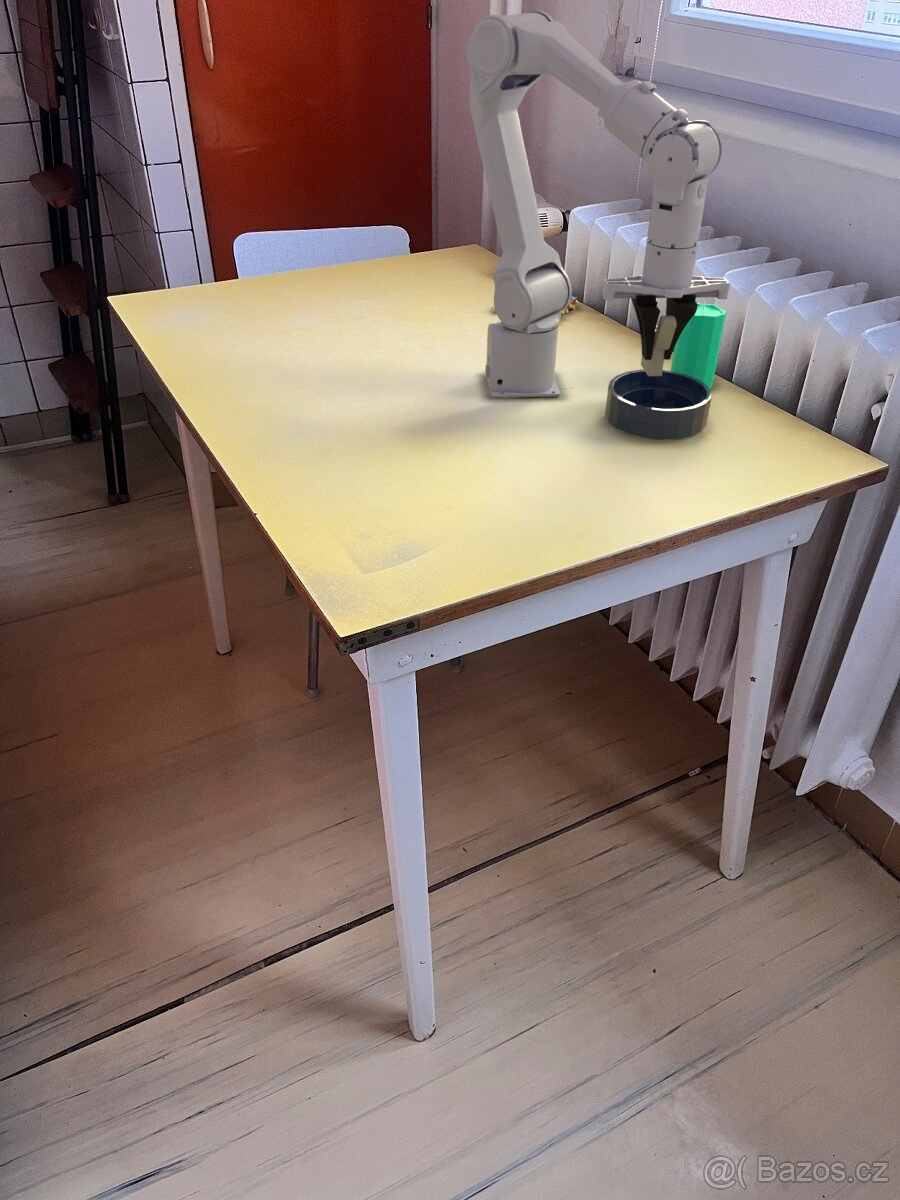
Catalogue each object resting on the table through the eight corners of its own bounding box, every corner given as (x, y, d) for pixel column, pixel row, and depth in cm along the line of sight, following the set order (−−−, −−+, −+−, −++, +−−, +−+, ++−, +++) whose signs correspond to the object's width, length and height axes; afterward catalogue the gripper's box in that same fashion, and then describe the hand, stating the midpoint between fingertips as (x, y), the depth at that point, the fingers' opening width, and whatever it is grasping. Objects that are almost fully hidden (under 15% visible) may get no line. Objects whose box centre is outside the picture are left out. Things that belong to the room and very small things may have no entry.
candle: (713, 393, 128) (729, 307, 121) (668, 389, 129) (682, 303, 122) (712, 376, 133) (727, 292, 126) (669, 372, 134) (682, 288, 127)
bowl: (616, 445, 115) (620, 411, 113) (596, 401, 126) (599, 370, 123) (718, 443, 116) (724, 409, 114) (689, 400, 126) (695, 368, 124)
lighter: (640, 364, 118) (648, 300, 114) (654, 364, 118) (662, 300, 114) (654, 385, 112) (663, 318, 108) (668, 385, 112) (677, 318, 108)
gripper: (616, 252, 103) (603, 370, 111) (745, 251, 103) (723, 368, 111) (604, 235, 108) (592, 348, 116) (726, 234, 109) (706, 346, 117)
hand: (655, 356), depth 114 cm, fingers closed on lighter, 2 cm apart
